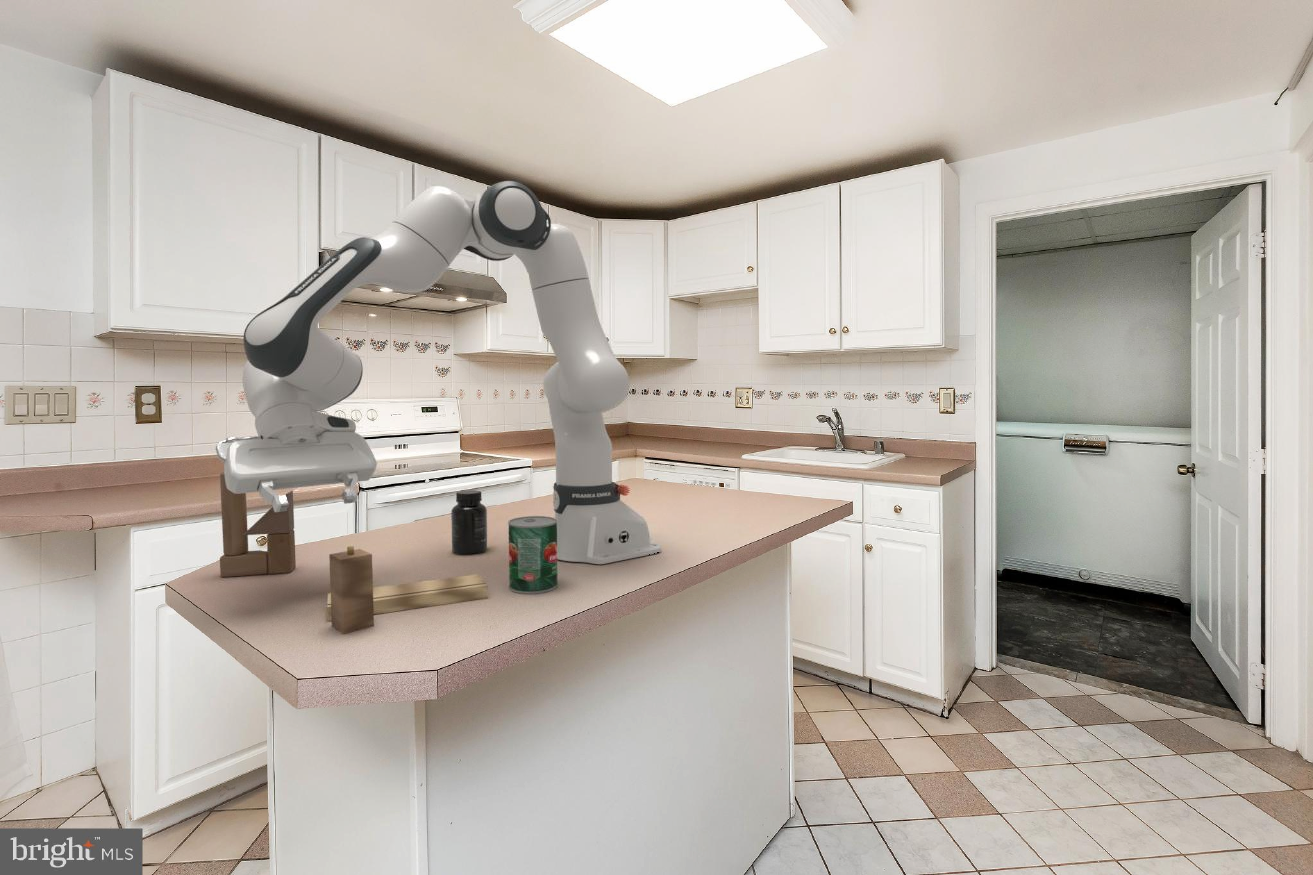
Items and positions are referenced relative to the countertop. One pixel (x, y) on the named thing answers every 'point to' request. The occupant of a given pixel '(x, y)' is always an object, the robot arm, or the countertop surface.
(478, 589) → the board
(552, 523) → the canned tomato
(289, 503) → the wooden block structure
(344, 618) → the block
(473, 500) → the supplement bottle
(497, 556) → the countertop surface
